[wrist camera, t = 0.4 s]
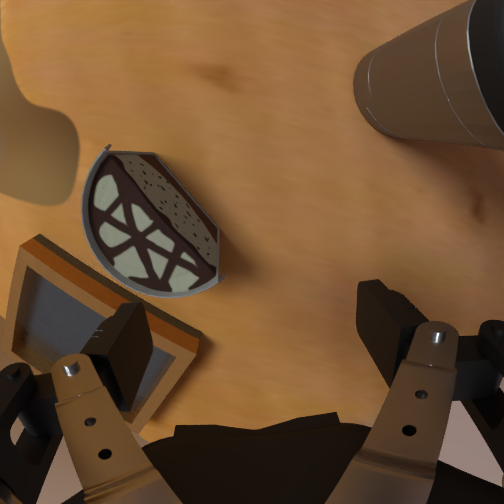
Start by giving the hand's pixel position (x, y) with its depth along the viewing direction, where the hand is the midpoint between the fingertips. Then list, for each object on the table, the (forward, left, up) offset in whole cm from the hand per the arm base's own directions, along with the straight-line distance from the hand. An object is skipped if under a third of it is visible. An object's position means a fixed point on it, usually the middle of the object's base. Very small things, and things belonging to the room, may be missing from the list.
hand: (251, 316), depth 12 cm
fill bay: (+23, -7, -19) cm, 30 cm away
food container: (+5, -6, -19) cm, 21 cm away
